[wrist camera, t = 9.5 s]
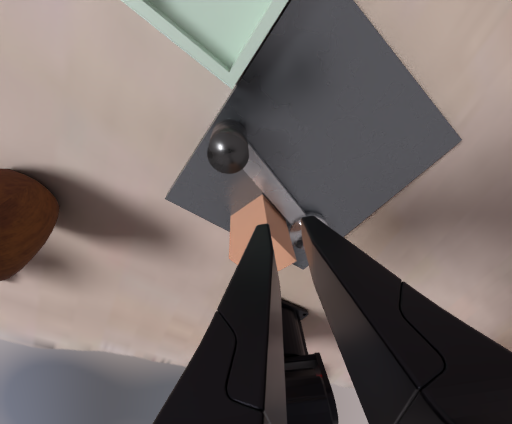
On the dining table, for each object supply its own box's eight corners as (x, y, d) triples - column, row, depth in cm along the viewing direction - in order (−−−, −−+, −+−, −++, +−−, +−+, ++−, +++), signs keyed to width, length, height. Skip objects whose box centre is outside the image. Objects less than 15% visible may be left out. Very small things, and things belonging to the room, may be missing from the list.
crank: (332, 229, 23) (347, 258, 20) (300, 247, 24) (309, 277, 21) (238, 103, 16) (239, 118, 13) (198, 137, 17) (190, 158, 14)
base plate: (452, 135, 19) (462, 140, 18) (301, 262, 27) (303, 269, 26) (314, -38, 13) (319, -44, 12) (167, 192, 20) (164, 199, 20)
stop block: (285, 219, 22) (296, 261, 18) (254, 238, 23) (258, 281, 19) (262, 194, 20) (268, 233, 16) (230, 216, 21) (229, 258, 17)
